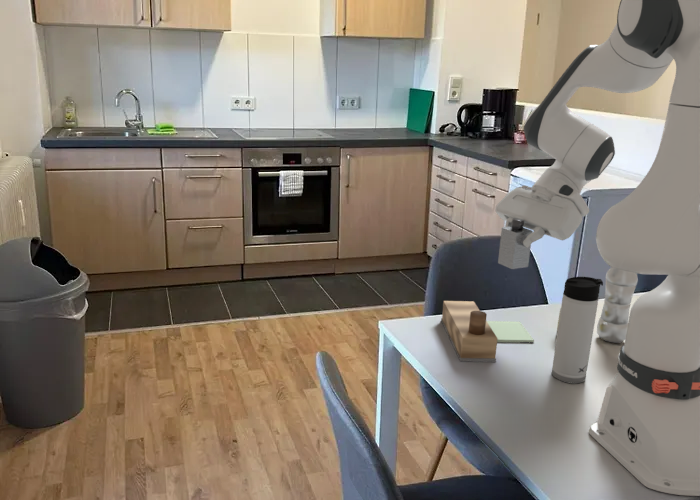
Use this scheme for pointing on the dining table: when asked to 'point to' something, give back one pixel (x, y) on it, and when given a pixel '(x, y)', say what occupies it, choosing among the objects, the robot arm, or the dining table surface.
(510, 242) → the lever cap
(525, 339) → the felt mat
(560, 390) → the dining table surface
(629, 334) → the robot arm
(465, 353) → the plane body
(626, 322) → the plastic bottle
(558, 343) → the travel mug
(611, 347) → the dining table surface
